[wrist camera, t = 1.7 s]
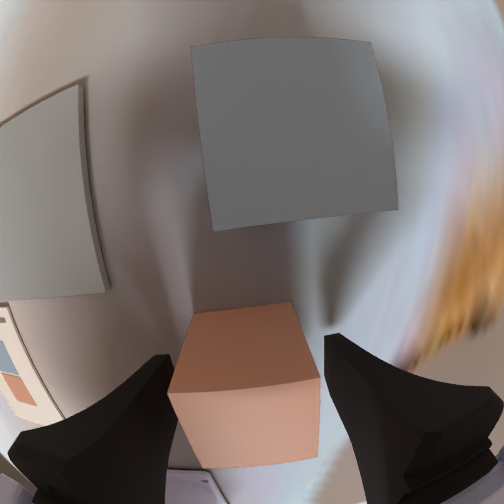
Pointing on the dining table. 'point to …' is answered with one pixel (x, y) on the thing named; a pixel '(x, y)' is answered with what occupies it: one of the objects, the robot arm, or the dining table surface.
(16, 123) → the plate
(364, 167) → the brick blue
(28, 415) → the card
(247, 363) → the brick terracotta
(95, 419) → the robot arm
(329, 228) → the dining table surface
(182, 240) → the dining table surface
